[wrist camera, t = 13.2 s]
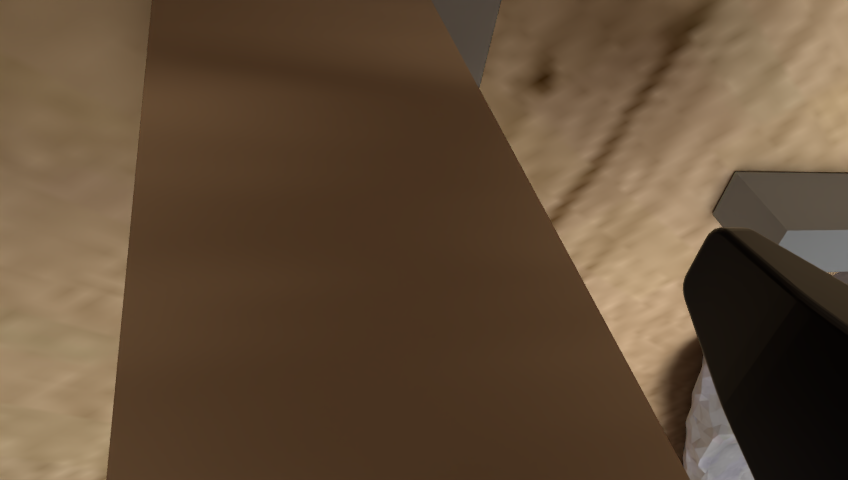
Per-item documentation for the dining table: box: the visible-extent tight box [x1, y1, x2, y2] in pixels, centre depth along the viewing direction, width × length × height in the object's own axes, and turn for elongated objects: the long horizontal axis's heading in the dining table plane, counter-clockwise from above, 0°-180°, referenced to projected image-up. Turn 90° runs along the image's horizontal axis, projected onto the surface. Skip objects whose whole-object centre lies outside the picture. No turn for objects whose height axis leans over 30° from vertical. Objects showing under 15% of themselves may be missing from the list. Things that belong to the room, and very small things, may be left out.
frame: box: [713, 172, 848, 272], centre depth 24 cm, size 16×18×2 cm
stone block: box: [683, 271, 848, 480], centre depth 23 cm, size 12×5×10 cm
